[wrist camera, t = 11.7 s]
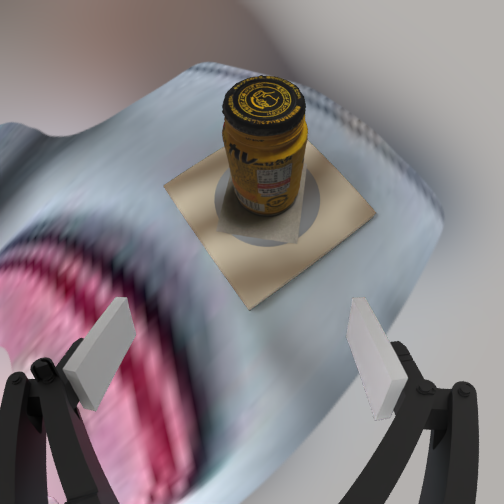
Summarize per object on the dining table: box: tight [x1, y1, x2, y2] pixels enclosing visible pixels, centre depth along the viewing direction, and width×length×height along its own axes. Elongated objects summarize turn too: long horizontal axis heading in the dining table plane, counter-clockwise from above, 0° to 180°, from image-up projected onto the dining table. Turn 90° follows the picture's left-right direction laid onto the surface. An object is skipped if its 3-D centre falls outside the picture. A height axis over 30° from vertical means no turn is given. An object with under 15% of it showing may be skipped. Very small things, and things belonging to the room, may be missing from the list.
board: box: [164, 140, 376, 310], centre depth 29 cm, size 15×15×1 cm
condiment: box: [216, 75, 308, 244], centre depth 22 cm, size 7×8×12 cm
